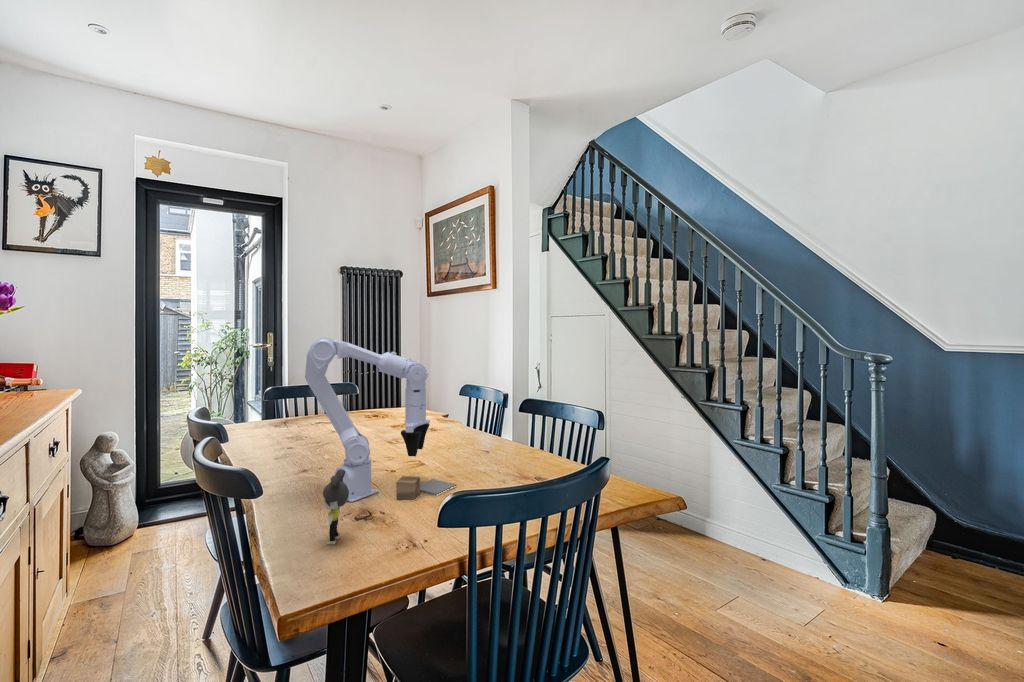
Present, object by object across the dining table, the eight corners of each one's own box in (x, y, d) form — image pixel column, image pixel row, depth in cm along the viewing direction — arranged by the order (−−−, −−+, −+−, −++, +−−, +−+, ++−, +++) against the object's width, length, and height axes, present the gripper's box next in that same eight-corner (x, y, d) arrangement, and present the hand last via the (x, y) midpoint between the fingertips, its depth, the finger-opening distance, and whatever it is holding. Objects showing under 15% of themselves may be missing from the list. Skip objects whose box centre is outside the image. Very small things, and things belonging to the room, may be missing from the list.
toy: (329, 533, 112) (328, 467, 111) (354, 532, 112) (353, 466, 112) (317, 550, 103) (316, 479, 103) (344, 550, 104) (343, 478, 103)
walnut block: (414, 501, 132) (414, 482, 132) (396, 500, 133) (396, 481, 133) (420, 494, 137) (420, 476, 137) (402, 494, 138) (402, 476, 138)
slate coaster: (436, 496, 136) (436, 493, 136) (411, 490, 141) (411, 487, 140) (456, 486, 144) (456, 484, 144) (432, 481, 148) (432, 479, 148)
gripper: (423, 409, 134) (423, 459, 134) (434, 400, 148) (434, 446, 149) (397, 409, 134) (397, 459, 135) (411, 400, 149) (411, 445, 149)
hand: (415, 452), depth 142 cm, fingers open, 7 cm apart
